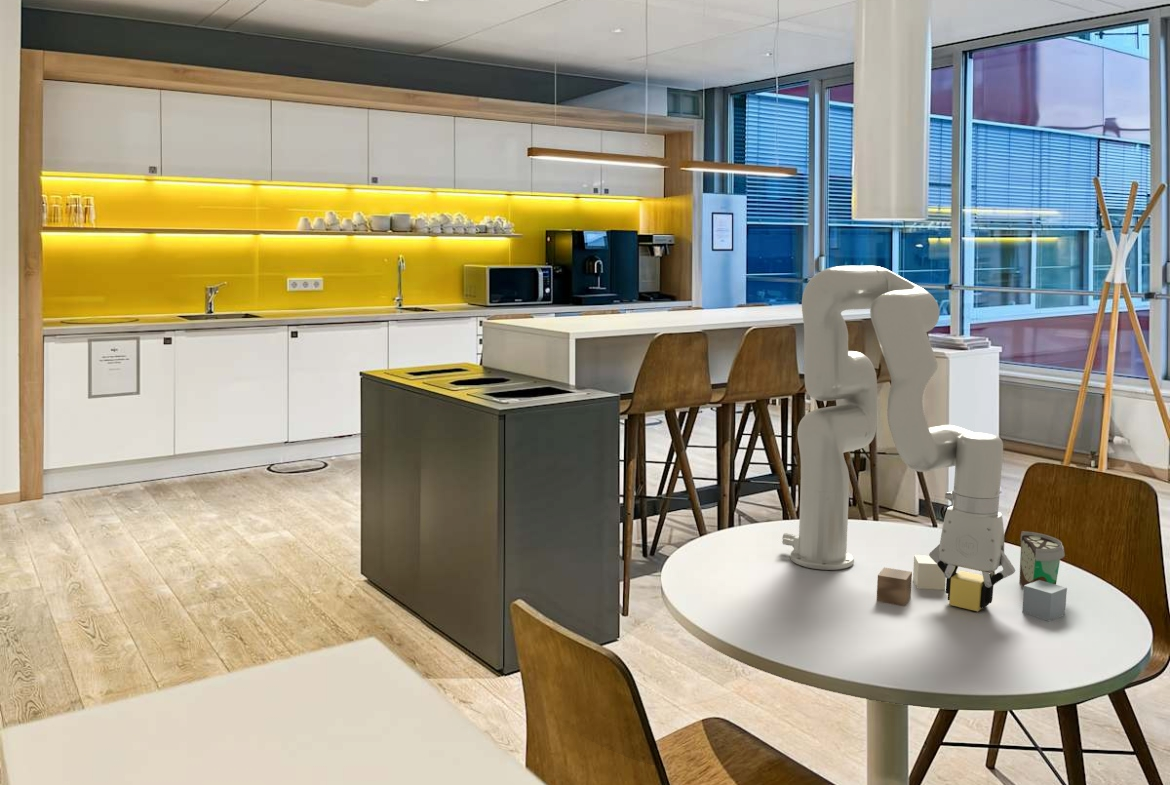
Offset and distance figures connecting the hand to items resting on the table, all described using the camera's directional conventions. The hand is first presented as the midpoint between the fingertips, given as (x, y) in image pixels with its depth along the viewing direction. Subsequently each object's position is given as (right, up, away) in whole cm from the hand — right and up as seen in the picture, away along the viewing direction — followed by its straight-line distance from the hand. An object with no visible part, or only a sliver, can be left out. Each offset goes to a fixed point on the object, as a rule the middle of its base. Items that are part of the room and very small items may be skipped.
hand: (968, 601), depth 175 cm
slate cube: (+12, -2, -3) cm, 12 cm away
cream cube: (-3, +1, +11) cm, 12 cm away
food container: (+17, 0, +7) cm, 18 cm away
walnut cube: (-12, -1, +4) cm, 13 cm away
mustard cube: (0, -1, 0) cm, 1 cm away
